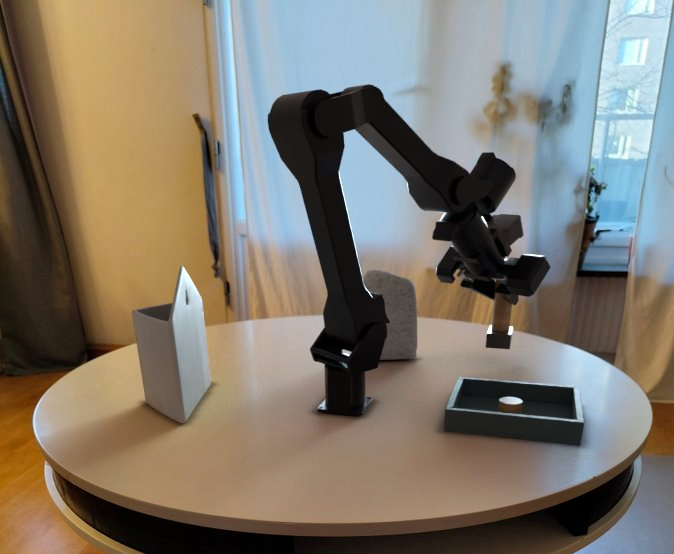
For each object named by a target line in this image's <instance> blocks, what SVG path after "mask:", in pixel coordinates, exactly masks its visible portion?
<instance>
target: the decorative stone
mask: <svg viewBox="0 0 674 554" xmlns="http://www.w3.org/2000/svg"><path fill="white" fill-rule="evenodd" d="M362 278H363V283H364V286H365V288H366V289H367V290H368V292H370V293H375V294H380V295H382V296H383V299H384V301H385V312H386V315H387V318H388V319H389V321H390V323H389V324H388V323H386V325H387V338H386V340H385V343H384V347H383V350H382V354H381V358H380V361H382V360H384V361H385V360H386V361H389V360H390V361H391V360H393V361H394V360H411V359H415V358H416V357H417V352H418V300H417V294H416V293H417V292H416V286H415V283H414V281H413V280H411V279H410V278H407V277H405V276H404V277H403V276H400V275H398V274H394V273H392V272H389V271H387V270H381V269H369V270H367V271H366V272H365V273H364V275H363V277H362Z"/></svg>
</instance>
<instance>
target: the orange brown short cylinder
mask: <svg viewBox="0 0 674 554" xmlns="http://www.w3.org/2000/svg"><path fill="white" fill-rule="evenodd" d="M522 403H523V401H522V400H521V399H519V398H515V397H503V398H501V399H500V400H499V409H498V412H501V413H512V414H521V411H522Z"/></svg>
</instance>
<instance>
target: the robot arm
mask: <svg viewBox="0 0 674 554" xmlns="http://www.w3.org/2000/svg"><path fill="white" fill-rule="evenodd" d="M267 126H268V127H267V128H268V131H269V134H270V137H271V139H272V141H273V144H274V146H275V149H276V151H277V153H278V156H279V158H280V160H281V161H282V163H283V164H284V166H286V168H287V169H288V170H289V172H290V174H292V176H293V177H294V179H295V180H296V181H297V183H298V185H299V189H300V190H299V191H300V194H301V197H302V201H303V205H304V209H305V213H306V215H307V220H308V224H309V227H310V231H311V236H312V238H313V239H312V240H313V242H314V247H315V250H316V254H317V257H318V261H319V266H320V271H321V274H322V277H323V280H324V285H325V288H326V293H327V296H326V299H325V303H324V307H323V311H322V317H323V326H324V327H323V329H321V331H320V333H319V335H318V336H317V338H316V339H315V340H314V342H313V343H312V345H311V346H310V347H309V352H310V355H311V357H312V360H313V362H315V363H320V364H322V365H324V400H323V401H322V402H321V403H320V404H319V405H318V406H317V408H316V410H317V412H319V413H328V414H336V415H337V414H338V415H344V416H345V415H347V416H355V417H356V416H357V417H360V416H363V415H364V414H365V413H366V411H367V409H368V408H369V407H370V405H371V404H372V403H373V397H372V396H366V391H367V390H366V388H367V387H366V386H367V385H366V382H367V380H366V378H367V375H366V372H369V371H374V370H376V369H378V368H379V365H380V361H381V360H380V358H381V354H382V350H383V347H384V343H385V340H386V338H387V325H386V323H388V324H389V323H390V321H389V319H388V318H387V315H386V312H385V301H384V299H383V296H382V295H380V294H375V293H370V292H368V290H367V289H366V288H365V286H364V283H363V278H364V277H363V275H362V270H361V266H360V261H359V256H358V252H357V247H356V242H355V239H354V238H355V237H354V234H353V231H352V230H353V229H352V226H351V221H350V217H349V213H348V208H347V203H346V199H345V194H344V190H343V186H342V185H343V184H342V181H341V175H340V168H341V164H342V159H343V156H344V152H345V147H346V142H345V133H347V132H351V131H353V130H355V132H357V133H358V134H359V135H360V136H361V138H363V139H364V140H365V141H366V142H367V143H368V144H369V145H370V146H371V147H372V148H373V149H374V150H375V151H377V153H378V154H379V155H381V157H382V158H384V159H385V160H386V162H388V163H389V164H390V165H391V167H393V168H394V169H395V170H396V171H397V172H398V174H400V175H401V176H402V177H403V178H404V180H405V181H406V184H407V191H408V193H409V195H410V196H411V198H412V200H413V201H414V202H415V204H416V206H418V208H419V209H420V210H421V211H424V212H429V213H443V214H442V216H441V218H440V219H439V220H436V221H435V224H434V225H435V226H434V229H433V231H432V237H431V239H432V240H433V241H440V242H450V244H451V245H449V247H448V249H447V251H446V252H445V254H444V255H443V256H442V258H441V259H440V261H439V263H438V264H437V266H436V267H435V276H436V277H437V279H438V280H439V282H440V283H444V284H450V285H453V284H454V283H455V281H456V277H457V278H459V279H460V280H461V281H460V284H459V286H460V287H461V288H463V289H467V290H469V291H470V292H473V293H476V294H478V295H480V296H482V297H485V298H487V299H489V300H491V301H493V302H494V296H495V293H496V294H497V295H499V296H500V297H502V298H503V299H505V300H506V301H507V302H509V303H510V304H512V306H517V304H518V302H519V299H520V298H519V296H520V297H526V298H530V297H532V296H534V295H535V294H536V292H537V291H538V289H539V287H540V286H541V285H542V282H543V280H544V279H545V278H546V276H547V274H548V273H549V271H550V269H551V265H550V262H549V260H548V257H547V256H546V255H541V254H533V253H523V254H521V255H520V256H519V257H515V256H513V257H512V256H511V257H510V255H511V253H512V251H513V250H512V248H511V246H513V244H514V243H515V242H516V241H518V240H519V239H522V238H523V237H524V235H525V234H524V228H523V222H522V221H523V220H522V215H520V214H507V213H499V214H493V213H495V212H496V210H497V209H498V208H499V206H500V204H501V203H502V202H503V200H504V199H505V197H506V196H507V194H508V192H509V191H510V189H511V188H512V186H513V184H514V183H515V181H516V180H517V174H516V171H515V169H514V167H513V166H511V165H509V163H507V162H506V161H504V160H503V159H501V158H499V157H497V156H496V154H495V152H493V151H489V152H488V151H486V152H483V151H482V152H481V153H480V155H479V157H478V159H477V161H476V163H475V165H474V166H473V168H472V169H471V171H470V172H469V171H468V170H467V169H466V168H464V167H463V166H462V165H461V164H459V163H457V162H456V161H454V160H452V159H449V158H448V157H444V156H442V155H439V154H438V153H436V152H435V151H433V150H432V149H431V147H430V146H428V144H427V143H426V142H425V141H424V140H423V139H422V138H421V136H420V135H418V133H417V132H416V131H415V130H414V129H413V127H411V126H410V125H409V123H407V122H406V120H405V119H404V118H403V117H402V116H401V115H400V114H399V113H398V112H397V111H396V110H395V109H394V108H393V107H392V106H391V104H390V103H389V102H388V101H387V100H386V99H385V96H384V93H383V92H382V90H381V89H380V88H379V87H378V86H375V85H374V84H370V83H367V84H361V85H354V86H347V87H345V88H344V89H343V90H341V91H336V92H333V93H329V91H327V90H324V89H313V90H307V91H300V92H299V91H298V92H293V93H287V94H286V93H285V94H282V95H280V96H278V97H277V98H276V99H275V100H274V102H273V103H272V104H271V108H270V111H269V112H268V114H267ZM506 257H507V258H506ZM508 257H509V258H508ZM505 259H507V260H505ZM457 270H458V272H457ZM456 272H457V274H456V277H455V273H456ZM496 280H500V284H499V285H498V287H497V289H496V290H495V286H496ZM343 351H347V352H350V353H346V352H343Z"/></svg>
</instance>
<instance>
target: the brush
mask: <svg viewBox="0 0 674 554" xmlns="http://www.w3.org/2000/svg"><path fill="white" fill-rule="evenodd" d="M504 259H505V260H507V259H508V258H504ZM495 282H496V286H495V290H496V289H497V287H498V285H499V284H500V280H495ZM512 308H513V305H512V304H510V303H509V302H507V301H506V300H505V299H503V298H502V297H500V296H499V295H497V294H496V293H495V296H494V301H493V307H492V319H491V324H490V325H489V327H488V330H487V331H486V337H485V349H499V350H510V349H511V345H512V340H513V332H514V326H511V317H512Z"/></svg>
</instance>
